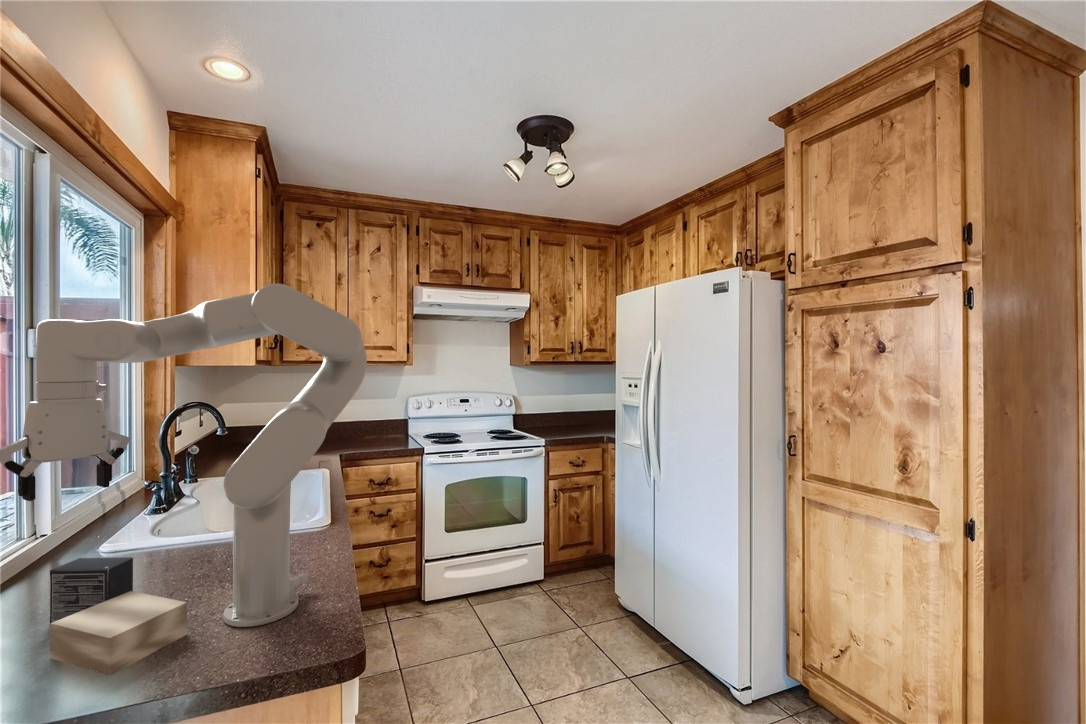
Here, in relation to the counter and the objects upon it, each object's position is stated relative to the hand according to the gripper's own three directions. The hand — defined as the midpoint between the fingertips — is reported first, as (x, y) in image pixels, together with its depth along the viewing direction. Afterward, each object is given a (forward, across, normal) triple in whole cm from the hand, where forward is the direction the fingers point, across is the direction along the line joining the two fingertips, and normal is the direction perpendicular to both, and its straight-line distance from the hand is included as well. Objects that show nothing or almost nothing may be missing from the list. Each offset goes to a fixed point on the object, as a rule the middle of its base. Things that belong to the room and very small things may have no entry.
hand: (67, 492), depth 86 cm
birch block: (+26, -4, +9) cm, 28 cm away
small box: (+26, -6, -6) cm, 27 cm away
